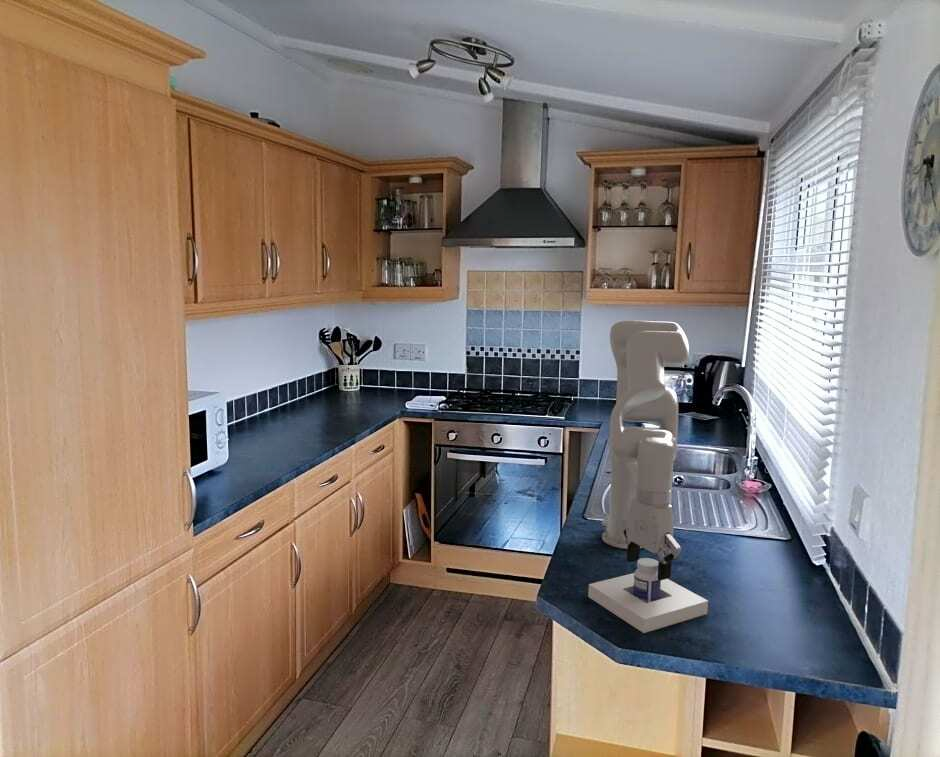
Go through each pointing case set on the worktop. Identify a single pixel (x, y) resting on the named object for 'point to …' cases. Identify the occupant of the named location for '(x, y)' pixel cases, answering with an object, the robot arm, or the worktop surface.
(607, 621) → the worktop surface
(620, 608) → the socket block
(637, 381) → the robot arm
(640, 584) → the pill bottle
